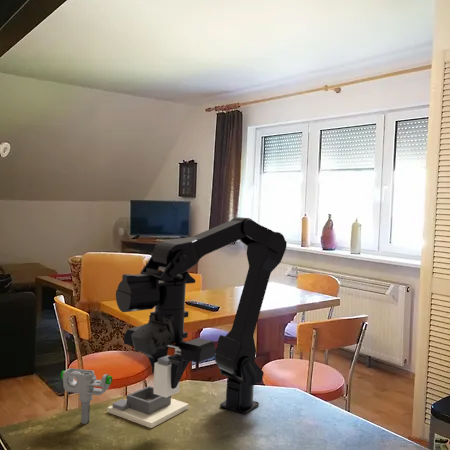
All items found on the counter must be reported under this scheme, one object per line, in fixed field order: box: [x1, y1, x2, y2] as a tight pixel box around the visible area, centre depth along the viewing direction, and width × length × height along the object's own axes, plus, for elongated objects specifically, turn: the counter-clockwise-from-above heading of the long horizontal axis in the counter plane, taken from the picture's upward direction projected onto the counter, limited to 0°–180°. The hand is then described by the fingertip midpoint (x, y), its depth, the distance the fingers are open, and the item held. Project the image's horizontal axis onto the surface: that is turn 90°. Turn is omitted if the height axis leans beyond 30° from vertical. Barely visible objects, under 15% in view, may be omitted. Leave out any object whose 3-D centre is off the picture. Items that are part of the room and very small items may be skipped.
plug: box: [153, 354, 181, 398], centre depth 99 cm, size 4×3×7 cm
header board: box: [107, 385, 190, 429], centre depth 107 cm, size 12×12×4 cm
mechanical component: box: [60, 367, 113, 425], centre depth 100 cm, size 3×10×10 cm, turn 78°
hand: (166, 386), depth 99 cm, fingers closed on plug, 3 cm apart
